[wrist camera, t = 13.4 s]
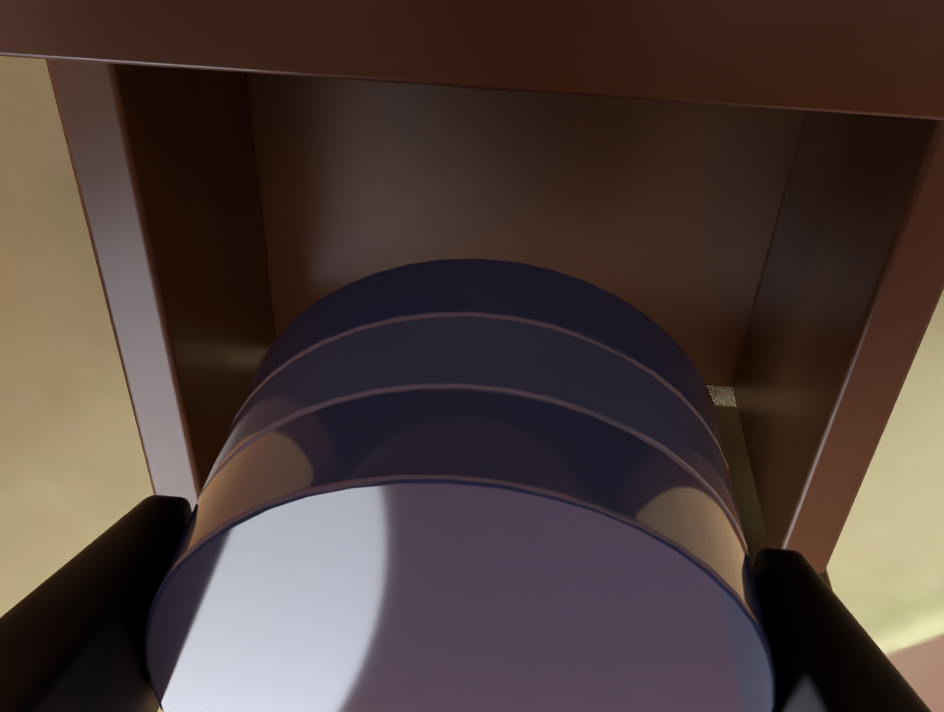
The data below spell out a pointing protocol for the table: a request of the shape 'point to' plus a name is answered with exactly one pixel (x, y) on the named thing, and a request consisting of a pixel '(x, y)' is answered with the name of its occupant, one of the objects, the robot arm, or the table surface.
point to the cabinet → (529, 45)
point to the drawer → (518, 246)
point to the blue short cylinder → (466, 515)
